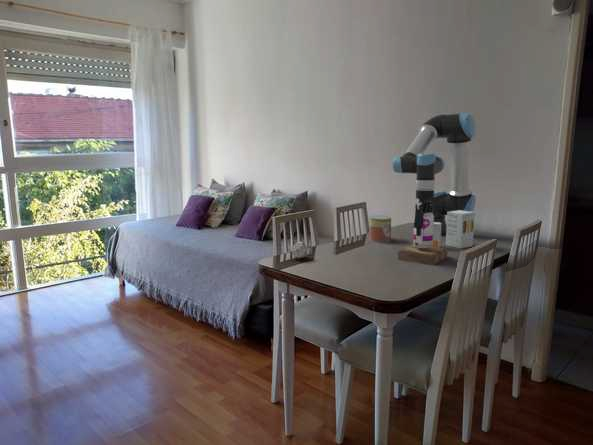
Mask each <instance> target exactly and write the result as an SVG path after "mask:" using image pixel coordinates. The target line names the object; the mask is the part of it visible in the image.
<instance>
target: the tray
mask: <svg viewBox="0 0 593 445" xmlns="http://www.w3.org/2000/svg"><path fill="white" fill-rule="evenodd" d="M446 258H448V248H445V247H441V246H440V247H433V246H431V247H429V248H419V247H416V246H415V245H414V244H411V245H409V246H407V247H404V248H402V249H400V250H398V251H397V260H400V261H407V262H411V263H412V262H413V263H420V264H424V265H430V266H431V265H432V266H433V265H435V264H437V263H439V262H441V261H443V260H445V259H446Z"/></svg>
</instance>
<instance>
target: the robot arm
mask: <svg viewBox="0 0 593 445" xmlns="http://www.w3.org/2000/svg"><path fill="white" fill-rule="evenodd" d="M475 134H476V123H475V119H474V117H473V115H471V114H470V113H451V114H438V115H435V116H433V117H431V118H430V119H428V120H427V121H425V122H424V123H423V124H421V126H420V128H419V130H418V133H417V135H416V137H414V139H413V141H412V142H411V144H410V145H409V147H408V148H407V149H406V151H405V152H404V153H403V154H402V156H400V155H399V156H395V157H394V158H393V161H392V169H393V172H395V173H397V174H416V181H415V184H416V185H415V186H416V187H415V188H416V191H415V199H417V200H418V204H417V203H416V204H414V205H415V208H414V209H415V211H414V215H415V219H413V229H414V228H416V243H422V241H423V228H422V225H423V216H424V214H426V212H432V213H433V215H434V222H438V223H442V225H441V236H444V235H445V236H446V230H447V220H446V216H447V212H450V211H458V210H462V211H469V212H474V209H475V208H476V207H475V206H476V200H477V199H476V195H474V194H473V191H472V189H471V188H469V187H470V186H469V184H470V183H469V143H470V142H472V138H474V137H475ZM437 139H446V143H447V144H448V145H449V151H450V189H449V191H448V193H447V191H446V190H434V189H435V184H436V183H435V182H436V179H435V177H436V176H435V175H437V174H440V173H441V172H442V171H444V169H445V164H446V163H445V161H444V159H443V158H442V157H440V156H436V154H435V153H432V152H430V153H429V152H426V151H427V149H428V148H429V146H430V145H431V144H432V142H434V141H436V140H437Z"/></svg>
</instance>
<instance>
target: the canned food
mask: <svg viewBox="0 0 593 445" xmlns="http://www.w3.org/2000/svg"><path fill="white" fill-rule="evenodd" d="M368 232H369V237H368V240H369V241H370V242H373V243H388V242H390V241H392V216H389V215H383V214H382V215H371V216H369V231H368Z"/></svg>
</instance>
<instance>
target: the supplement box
mask: <svg viewBox="0 0 593 445" xmlns="http://www.w3.org/2000/svg"><path fill="white" fill-rule="evenodd" d="M475 216H476V212H475V211H473V212H469V211H462V210H458V211H450V212H447V215H446V217H447V218H446V225H447V230H446V234H445V245H446V246H448V247H453V248H458V249H464V248H469V247H473V246H474V232H475V218H476V217H475Z"/></svg>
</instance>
